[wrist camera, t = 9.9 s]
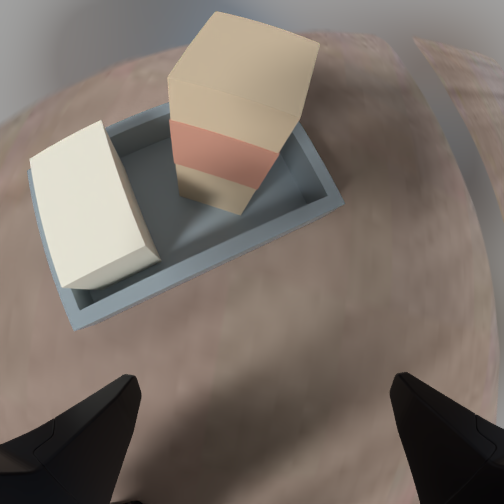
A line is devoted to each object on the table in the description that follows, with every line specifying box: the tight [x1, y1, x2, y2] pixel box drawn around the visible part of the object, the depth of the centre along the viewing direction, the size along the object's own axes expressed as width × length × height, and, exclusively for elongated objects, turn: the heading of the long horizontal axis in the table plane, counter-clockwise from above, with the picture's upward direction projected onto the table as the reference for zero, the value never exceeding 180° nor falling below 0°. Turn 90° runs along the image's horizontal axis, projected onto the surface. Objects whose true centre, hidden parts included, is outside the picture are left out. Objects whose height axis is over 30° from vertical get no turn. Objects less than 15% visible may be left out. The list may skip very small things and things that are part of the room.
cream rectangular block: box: [30, 120, 162, 290], centre depth 16 cm, size 5×8×7 cm, turn 25°
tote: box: [27, 102, 345, 331], centre depth 20 cm, size 20×12×4 cm, turn 115°
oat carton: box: [167, 11, 320, 216], centre depth 15 cm, size 5×5×13 cm
